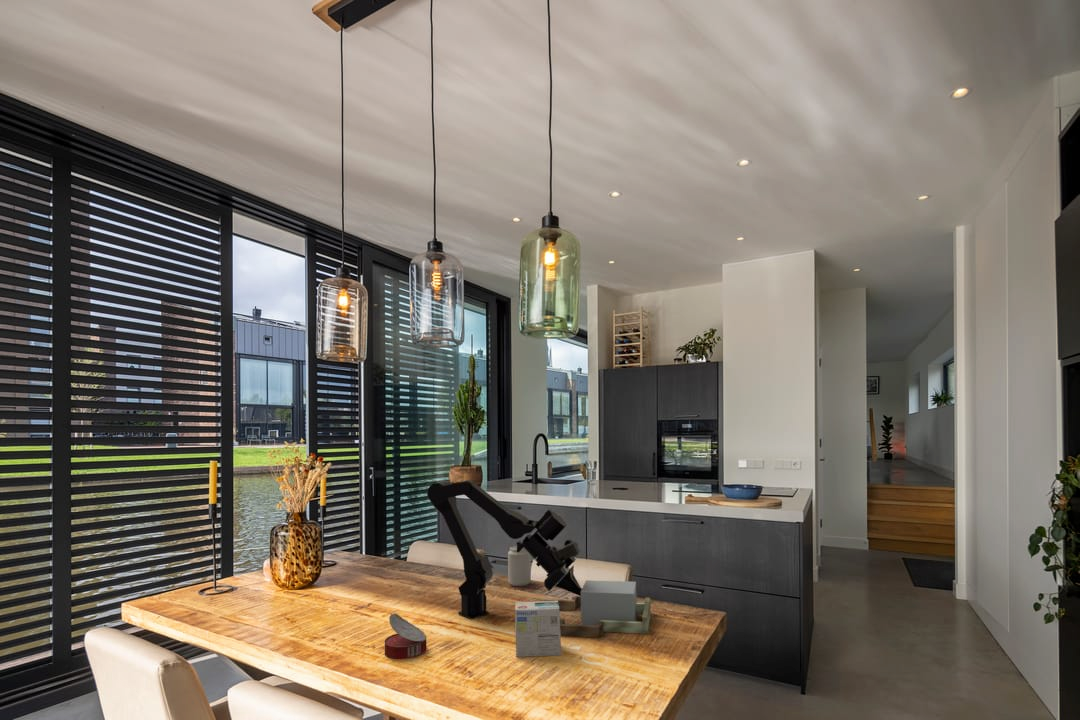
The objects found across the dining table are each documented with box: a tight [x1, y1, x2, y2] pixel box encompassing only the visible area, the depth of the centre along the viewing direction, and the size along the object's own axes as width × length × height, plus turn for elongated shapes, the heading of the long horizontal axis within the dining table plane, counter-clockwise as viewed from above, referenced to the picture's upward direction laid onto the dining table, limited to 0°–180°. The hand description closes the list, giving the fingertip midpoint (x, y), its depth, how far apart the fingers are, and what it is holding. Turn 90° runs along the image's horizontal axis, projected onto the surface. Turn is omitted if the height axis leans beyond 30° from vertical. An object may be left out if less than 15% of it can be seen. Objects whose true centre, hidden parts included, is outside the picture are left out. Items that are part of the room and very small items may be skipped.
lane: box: [543, 595, 652, 639], centre depth 165 cm, size 30×27×4 cm
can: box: [507, 545, 532, 587], centre depth 204 cm, size 8×8×12 cm
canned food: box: [384, 612, 427, 660], centre depth 146 cm, size 11×10×10 cm
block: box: [580, 579, 638, 626], centre depth 165 cm, size 14×12×9 cm
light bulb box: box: [514, 600, 562, 658], centre depth 144 cm, size 11×7×11 cm, turn 92°
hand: (582, 594), depth 166 cm, fingers closed
